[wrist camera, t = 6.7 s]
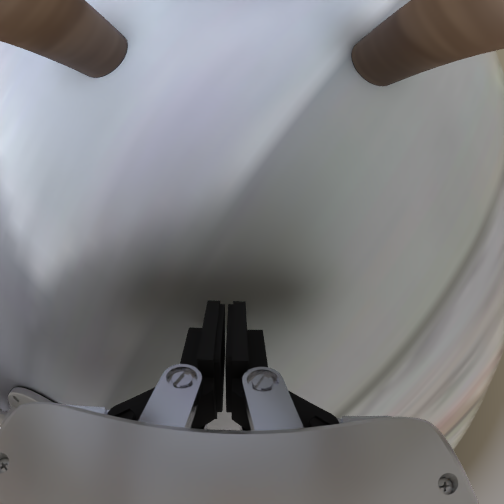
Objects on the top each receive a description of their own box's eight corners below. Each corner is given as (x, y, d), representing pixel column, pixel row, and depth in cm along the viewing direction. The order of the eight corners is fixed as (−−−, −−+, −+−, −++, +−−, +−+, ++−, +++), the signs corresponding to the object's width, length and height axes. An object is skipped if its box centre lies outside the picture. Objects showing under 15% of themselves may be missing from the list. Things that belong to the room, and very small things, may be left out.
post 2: (352, 78, 10) (498, 6, 1) (350, 34, 9) (465, -58, 1) (398, 91, 10) (549, 60, 2) (395, 49, 9) (522, -7, 1)
